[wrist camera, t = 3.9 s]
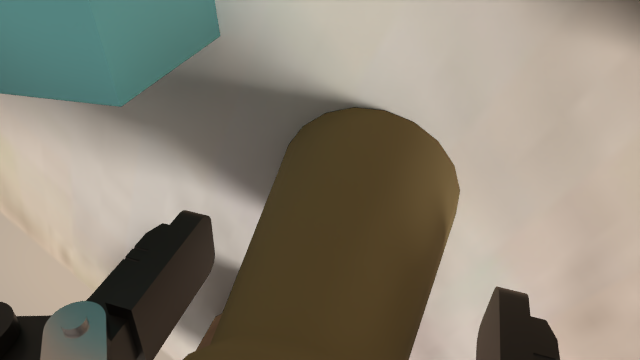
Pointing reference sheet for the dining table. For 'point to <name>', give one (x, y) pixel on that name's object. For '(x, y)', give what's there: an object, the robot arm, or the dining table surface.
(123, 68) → the deep teal block
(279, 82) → the dining table surface
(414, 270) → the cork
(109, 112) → the dining table surface
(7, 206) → the dining table surface
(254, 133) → the dining table surface
